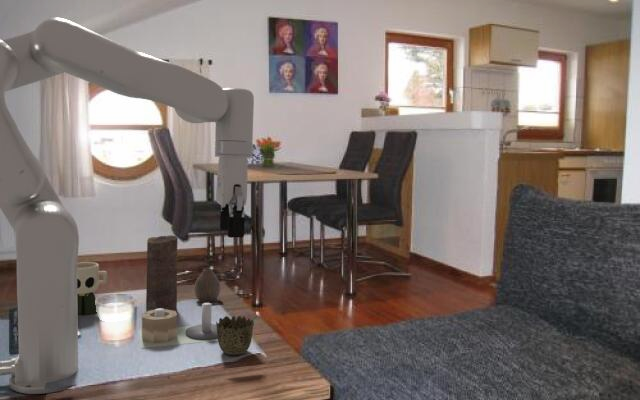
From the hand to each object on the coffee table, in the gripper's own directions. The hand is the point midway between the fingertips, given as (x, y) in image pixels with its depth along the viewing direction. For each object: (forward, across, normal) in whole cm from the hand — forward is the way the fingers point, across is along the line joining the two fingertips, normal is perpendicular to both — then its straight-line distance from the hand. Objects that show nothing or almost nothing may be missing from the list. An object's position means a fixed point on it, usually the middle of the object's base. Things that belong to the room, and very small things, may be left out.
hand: (231, 233), depth 114 cm
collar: (+23, -7, -14) cm, 28 cm away
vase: (+25, -37, +1) cm, 45 cm away
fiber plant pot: (+25, +6, 0) cm, 26 cm away
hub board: (+25, -7, -9) cm, 27 cm away
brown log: (+25, -26, -12) cm, 38 cm away
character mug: (+25, -29, -30) cm, 49 cm away
